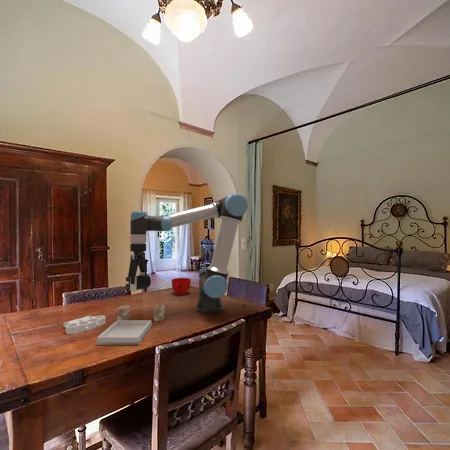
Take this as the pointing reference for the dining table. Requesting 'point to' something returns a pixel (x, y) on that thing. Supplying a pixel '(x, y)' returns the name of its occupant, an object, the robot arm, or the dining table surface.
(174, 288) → the ceramic cup
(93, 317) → the muffin pan
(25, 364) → the dining table surface
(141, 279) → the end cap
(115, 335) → the tray
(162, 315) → the block
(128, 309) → the block
